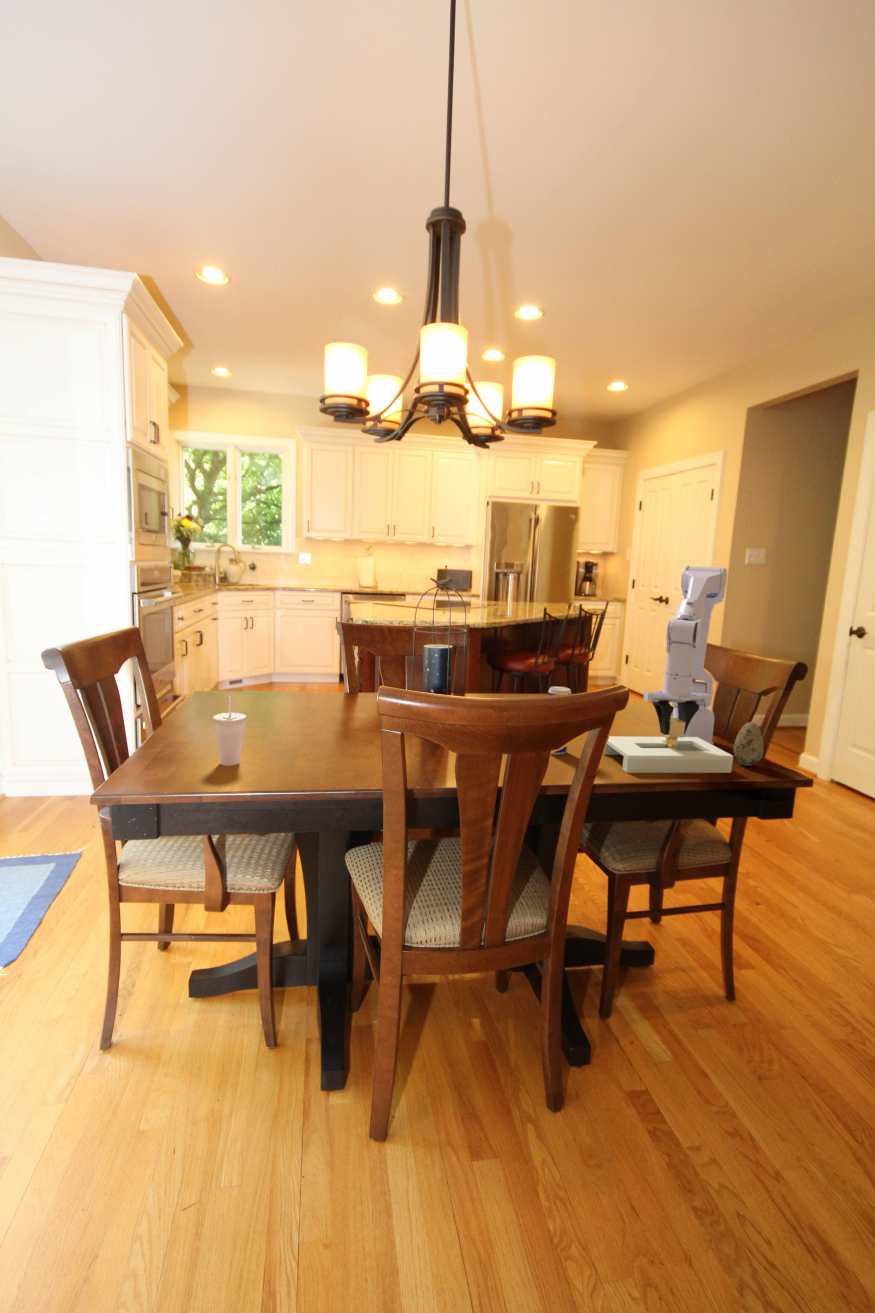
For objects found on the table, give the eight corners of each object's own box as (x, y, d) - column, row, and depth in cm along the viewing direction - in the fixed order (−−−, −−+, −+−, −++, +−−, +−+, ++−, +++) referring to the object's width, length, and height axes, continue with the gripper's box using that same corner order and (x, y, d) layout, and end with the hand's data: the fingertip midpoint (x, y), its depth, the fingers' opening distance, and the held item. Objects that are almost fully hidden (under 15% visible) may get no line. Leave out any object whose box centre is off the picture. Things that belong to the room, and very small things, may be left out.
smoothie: (214, 769, 118) (214, 699, 116) (211, 759, 124) (210, 692, 122) (248, 766, 121) (248, 697, 119) (244, 756, 127) (244, 691, 125)
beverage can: (565, 749, 143) (570, 687, 140) (567, 756, 138) (573, 691, 135) (542, 747, 143) (547, 685, 141) (544, 754, 138) (549, 690, 136)
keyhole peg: (674, 753, 140) (679, 716, 139) (688, 763, 135) (693, 724, 133) (650, 753, 140) (654, 716, 138) (663, 763, 134) (668, 723, 132)
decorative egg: (750, 760, 141) (755, 719, 139) (766, 769, 135) (772, 726, 133) (726, 760, 140) (731, 718, 138) (742, 769, 134) (747, 725, 133)
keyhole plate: (695, 752, 145) (697, 737, 145) (731, 772, 132) (733, 755, 131) (600, 752, 142) (601, 736, 141) (626, 772, 128) (628, 755, 128)
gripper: (657, 676, 129) (650, 738, 131) (720, 678, 131) (712, 739, 133) (641, 670, 136) (635, 729, 138) (701, 672, 138) (695, 730, 140)
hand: (672, 733), depth 136 cm, fingers closed on keyhole peg, 3 cm apart
